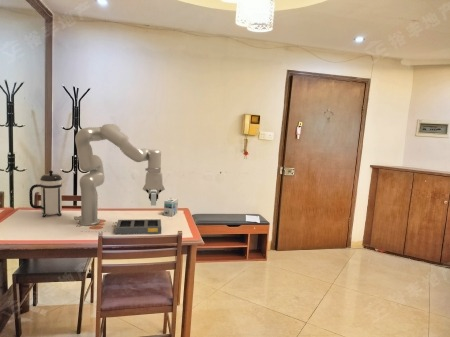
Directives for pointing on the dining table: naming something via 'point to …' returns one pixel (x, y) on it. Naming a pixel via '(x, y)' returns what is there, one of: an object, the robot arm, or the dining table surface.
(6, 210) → the dining table surface
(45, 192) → the coffee press
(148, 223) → the rack
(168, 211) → the light bulb box
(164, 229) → the dining table surface
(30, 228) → the dining table surface
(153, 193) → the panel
